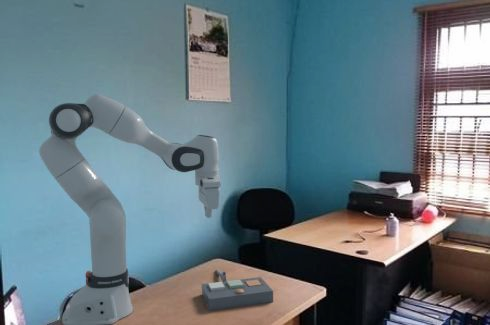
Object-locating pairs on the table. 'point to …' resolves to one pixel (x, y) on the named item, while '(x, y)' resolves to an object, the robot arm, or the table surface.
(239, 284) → the sage button
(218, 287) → the white button
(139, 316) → the table surface
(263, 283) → the button panel
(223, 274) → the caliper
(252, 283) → the terracotta button
